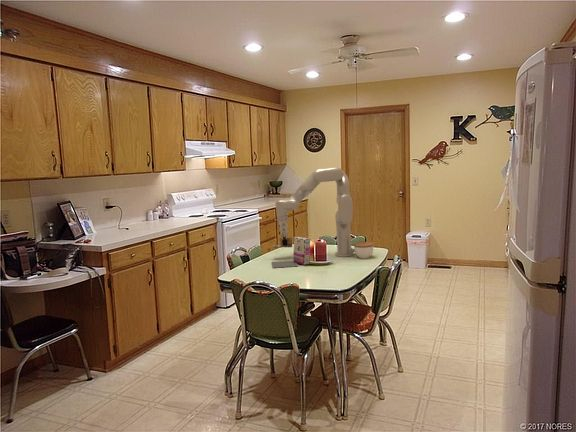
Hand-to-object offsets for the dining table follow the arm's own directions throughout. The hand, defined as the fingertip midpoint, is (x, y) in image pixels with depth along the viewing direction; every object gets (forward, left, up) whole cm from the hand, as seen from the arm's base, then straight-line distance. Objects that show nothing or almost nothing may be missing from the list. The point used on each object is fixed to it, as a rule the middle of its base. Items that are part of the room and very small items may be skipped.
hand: (284, 244), depth 303 cm
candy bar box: (-9, +18, -9) cm, 22 cm away
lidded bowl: (-51, +12, -10) cm, 53 cm away
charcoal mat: (+2, +18, -9) cm, 20 cm away
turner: (+2, 0, -1) cm, 2 cm away
